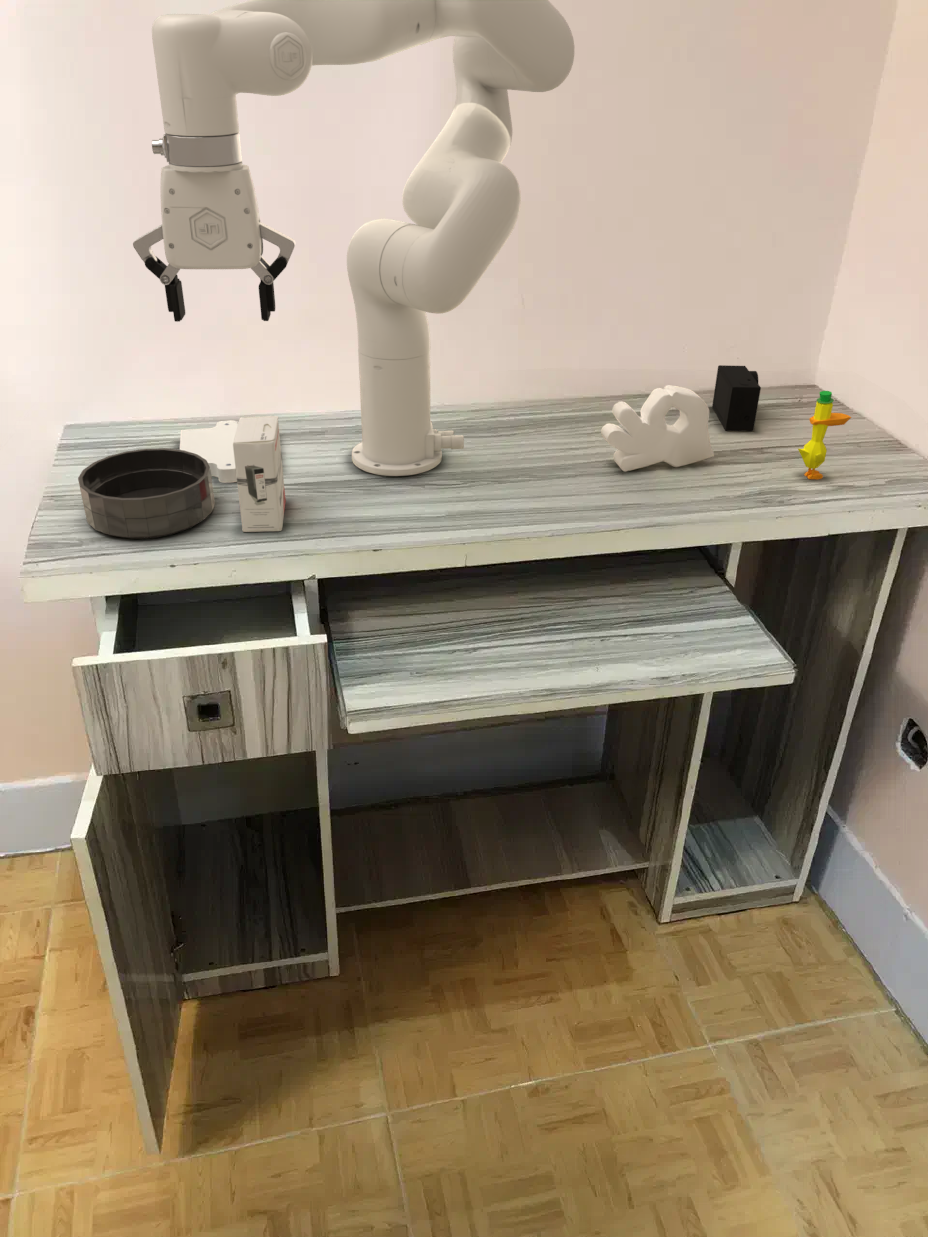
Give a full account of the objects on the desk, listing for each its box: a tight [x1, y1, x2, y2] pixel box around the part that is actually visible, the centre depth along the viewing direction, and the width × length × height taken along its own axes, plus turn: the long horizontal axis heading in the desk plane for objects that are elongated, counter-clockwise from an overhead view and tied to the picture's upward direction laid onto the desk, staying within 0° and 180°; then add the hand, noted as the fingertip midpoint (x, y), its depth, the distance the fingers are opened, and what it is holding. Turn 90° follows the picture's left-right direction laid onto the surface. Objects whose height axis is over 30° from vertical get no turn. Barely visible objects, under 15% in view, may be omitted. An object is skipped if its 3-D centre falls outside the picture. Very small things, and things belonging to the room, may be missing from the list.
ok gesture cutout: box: [600, 384, 715, 473], centre depth 137 cm, size 3×15×11 cm, turn 103°
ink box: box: [233, 415, 287, 533], centre depth 121 cm, size 9×5×12 cm, turn 5°
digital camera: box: [711, 364, 762, 432], centre depth 154 cm, size 10×5×7 cm, turn 179°
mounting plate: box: [179, 419, 238, 484], centre depth 140 cm, size 18×13×2 cm
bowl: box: [77, 447, 216, 540], centre depth 124 cm, size 15×15×6 cm
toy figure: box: [797, 390, 852, 480], centre depth 134 cm, size 7×4×12 cm, turn 101°
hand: (223, 318), depth 113 cm, fingers open, 9 cm apart
